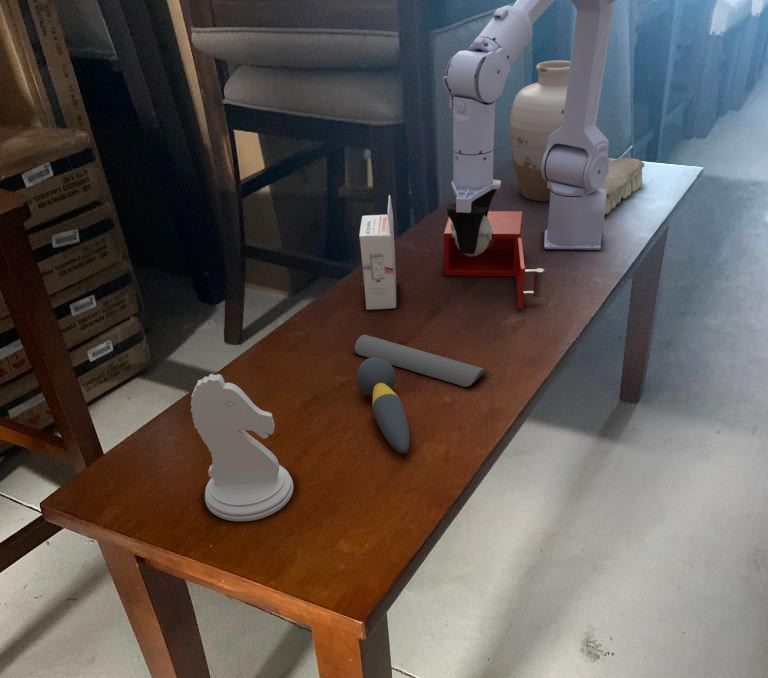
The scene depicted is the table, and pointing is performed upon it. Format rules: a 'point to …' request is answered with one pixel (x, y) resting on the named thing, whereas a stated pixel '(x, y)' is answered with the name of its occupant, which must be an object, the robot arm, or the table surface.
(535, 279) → the red cabinet door
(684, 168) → the table surface
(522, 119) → the vase
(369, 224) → the ink cartridge box
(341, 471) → the table surface
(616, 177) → the shoe brush
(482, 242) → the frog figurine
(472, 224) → the robot arm
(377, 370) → the wand massager
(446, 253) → the cabinet
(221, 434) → the chess piece
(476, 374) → the gray half cylinder
